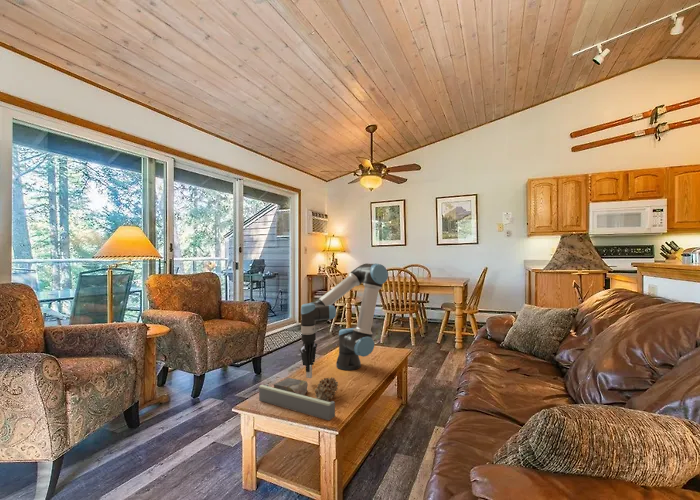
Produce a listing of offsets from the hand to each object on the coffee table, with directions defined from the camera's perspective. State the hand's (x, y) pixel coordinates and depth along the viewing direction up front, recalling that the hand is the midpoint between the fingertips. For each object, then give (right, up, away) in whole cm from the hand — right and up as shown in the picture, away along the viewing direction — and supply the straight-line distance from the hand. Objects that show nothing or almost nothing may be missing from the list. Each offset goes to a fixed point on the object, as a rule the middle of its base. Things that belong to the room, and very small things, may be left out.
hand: (309, 377), depth 175 cm
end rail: (-3, -3, -27) cm, 28 cm away
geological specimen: (-7, -4, -11) cm, 14 cm away
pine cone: (+9, -3, -23) cm, 25 cm away
